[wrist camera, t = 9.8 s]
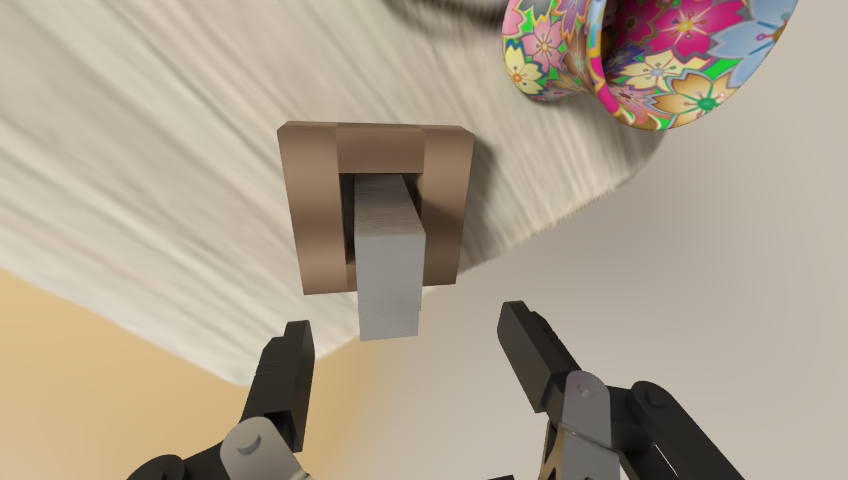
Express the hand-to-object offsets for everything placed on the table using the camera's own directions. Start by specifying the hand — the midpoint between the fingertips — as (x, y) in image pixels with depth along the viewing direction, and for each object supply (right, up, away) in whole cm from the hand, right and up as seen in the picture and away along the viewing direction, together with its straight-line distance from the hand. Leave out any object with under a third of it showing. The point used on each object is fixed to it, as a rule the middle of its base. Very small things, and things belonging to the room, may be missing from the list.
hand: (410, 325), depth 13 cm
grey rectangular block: (-3, +5, +13) cm, 14 cm away
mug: (+8, +18, +8) cm, 22 cm away
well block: (-3, +7, +12) cm, 14 cm away
